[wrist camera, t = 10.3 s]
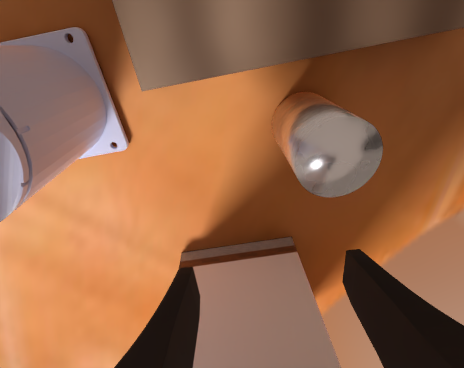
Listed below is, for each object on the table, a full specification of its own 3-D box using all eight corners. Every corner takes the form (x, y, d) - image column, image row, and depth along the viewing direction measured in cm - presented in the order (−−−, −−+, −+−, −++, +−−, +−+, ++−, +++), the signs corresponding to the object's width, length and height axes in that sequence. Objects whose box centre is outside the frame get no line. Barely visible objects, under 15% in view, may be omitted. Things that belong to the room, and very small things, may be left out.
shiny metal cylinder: (274, 155, 21) (297, 203, 15) (268, 98, 19) (292, 126, 13) (331, 145, 21) (378, 189, 14) (331, 86, 18) (387, 108, 12)
